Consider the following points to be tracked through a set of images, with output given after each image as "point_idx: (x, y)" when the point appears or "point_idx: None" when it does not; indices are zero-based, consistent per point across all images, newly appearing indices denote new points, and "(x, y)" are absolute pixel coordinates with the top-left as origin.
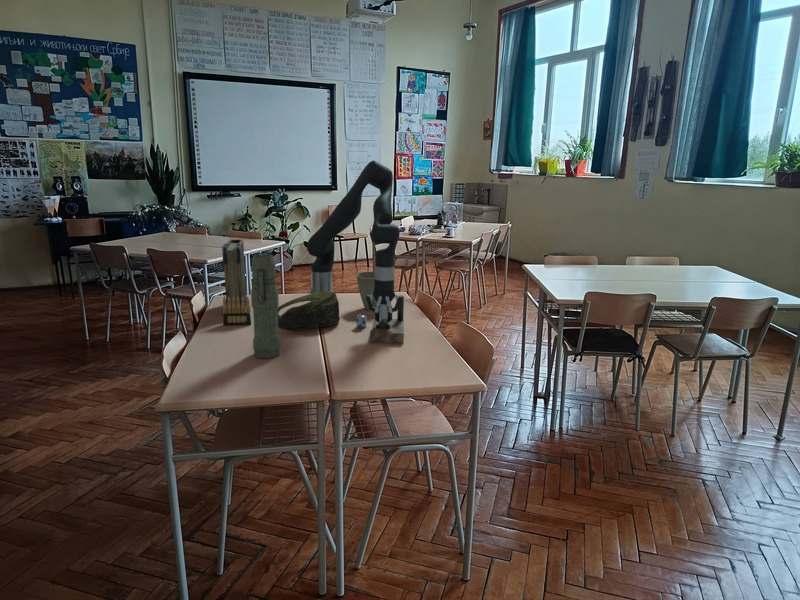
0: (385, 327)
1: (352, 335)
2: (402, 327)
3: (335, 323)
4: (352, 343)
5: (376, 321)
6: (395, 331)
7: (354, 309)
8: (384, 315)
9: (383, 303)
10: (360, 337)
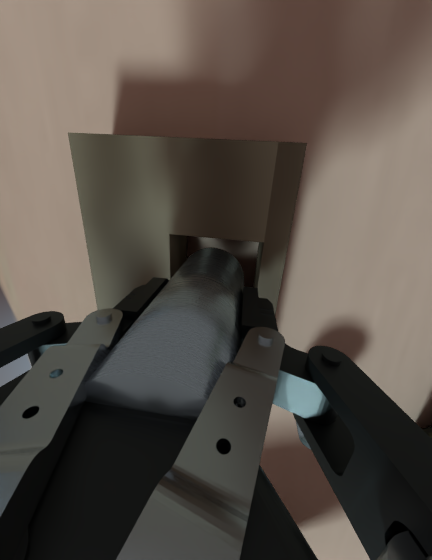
0: (196, 253)
1: (380, 282)
2: (97, 264)
3: (427, 429)
4: (418, 136)
5: (257, 288)
6: (128, 180)
7: (307, 530)
8: (181, 285)
9: (148, 417)
10: (341, 250)
